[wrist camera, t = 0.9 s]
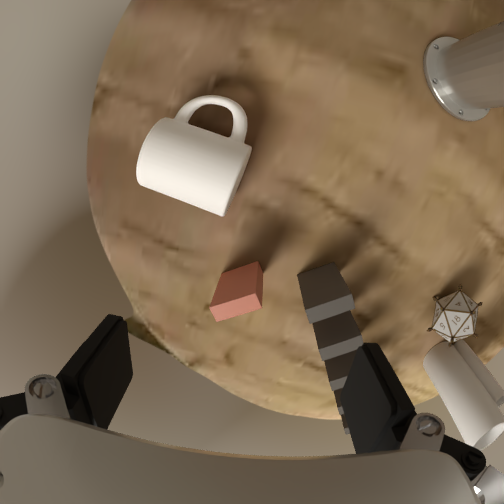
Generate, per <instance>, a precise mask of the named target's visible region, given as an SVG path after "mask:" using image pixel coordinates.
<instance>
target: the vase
mask: <svg viewBox="0 0 504 504" xmlns="http://www.w3.org/2000/svg"><path fill="white" fill-rule="evenodd" d="M448 345H449V342H447V341H445V342H441V343H439V344H437V345H435V346H434V347H433V348H432V349H431V350H430V351H429V352H428V353H427V355H426V356H425V358H424V361H423V367H424V369H425V371H426V372H427V374H428V376H429V377H430V379H431V381H432V382H433V384H434V386H435V388H436V389H437V391H438V393H439V395H440V396H441V398H442V400H443V402H444V403H445V405H446V407H447V409H448V411H449V413H450V414H451V416H452V418H453V420H454V422H455V424H456V426H457V428H458V429H459V431H460V433H461V435H462V437H463V439H464V441H465V443H466V444H468V445H470V446H472V447H475V448H477V449H479V450H480V451H481V450H483V449H484V448H486V447H488V446H489V445H490V444H491V443H493V442H494V441H495V440H496V439H497V438H498V437H499V436H500V435H501V434H502V433H503V431H504V415H503V414H502V412H501V411H500V409H499V407H500V405H501V404H503V403H504V390H503V389H502V387H501V386H500V385H499V383H498V382H497V381H496V379H495V378H494V377H493V375H492V374H491V373H490V371H489V370H488V369H487V368H486V366H485V365H484V364H483V363H482V361H481V360H480V359H479V358H478V356H477V355H476V354H475V353H474V352H473V350H472V349H471V348H470V347H469V346H468V344H467V343H466V342H465V341H464V340H459V341H457V342H456V343H455V344H454V346H453V345H452V346H451V347H450V348H449V346H448Z"/></svg>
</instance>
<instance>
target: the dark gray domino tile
mask: <svg viewBox="0 0 504 504" xmlns="http://www.w3.org/2000/svg"><path fill="white" fill-rule="evenodd" d="M313 328H314V332H315V336H316V340H317V345H318V349H319V352H320V355H321V358H322V361H324V360H327V359H330V358H333V357H336V356H339V355H342V354H345V353H348V352H351V351H354V350H357V349H358V347H359V346H362V345H363V340H362V335H361V333H360V331H359V329H358V326H357V324H356V322H355V320H354V318H353V316H352V314H351V311H350V310H349V311H346V312H343V313H341V314H338V315H335V316H332V317H329V318H326V319H323V320H320V321H317V322H314V323H313Z"/></svg>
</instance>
